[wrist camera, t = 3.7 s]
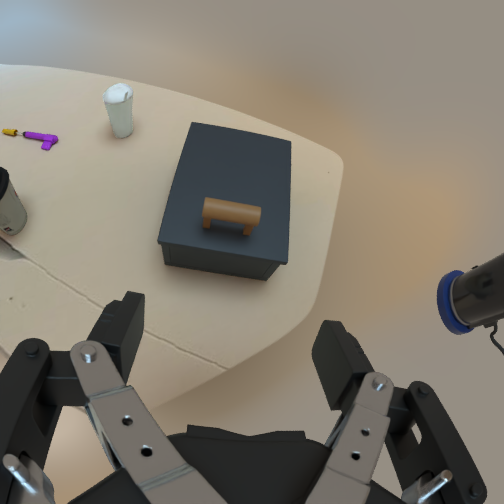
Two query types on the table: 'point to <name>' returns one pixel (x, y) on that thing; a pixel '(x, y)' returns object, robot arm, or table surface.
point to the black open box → (218, 263)
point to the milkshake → (120, 109)
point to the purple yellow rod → (46, 137)
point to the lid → (230, 195)
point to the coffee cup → (10, 206)
